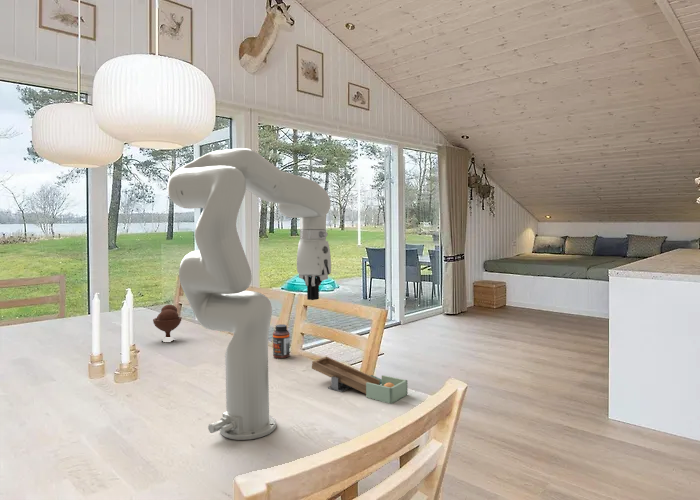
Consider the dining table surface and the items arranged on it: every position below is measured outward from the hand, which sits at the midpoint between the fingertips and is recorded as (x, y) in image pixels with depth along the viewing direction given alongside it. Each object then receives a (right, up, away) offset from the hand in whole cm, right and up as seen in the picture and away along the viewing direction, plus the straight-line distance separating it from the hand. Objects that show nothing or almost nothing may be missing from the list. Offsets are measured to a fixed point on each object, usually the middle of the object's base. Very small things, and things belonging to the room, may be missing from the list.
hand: (313, 299), depth 137 cm
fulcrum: (+9, -25, 0) cm, 27 cm away
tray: (+21, -25, -9) cm, 34 cm away
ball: (+21, -23, -10) cm, 33 cm away
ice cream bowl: (-65, -24, +58) cm, 90 cm away
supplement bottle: (-14, -24, +32) cm, 43 cm away
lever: (+10, -23, +1) cm, 25 cm away
